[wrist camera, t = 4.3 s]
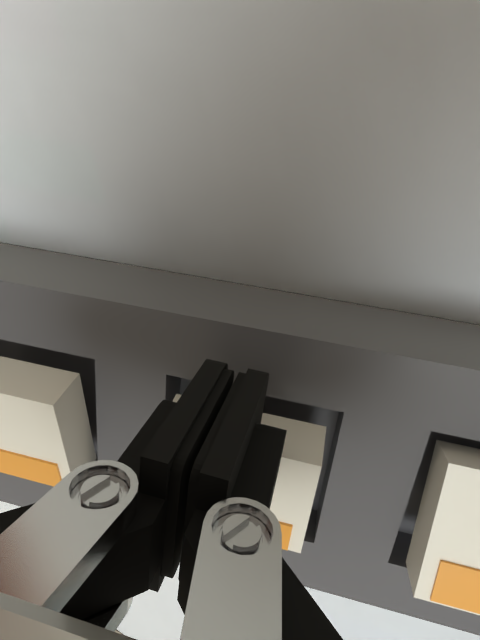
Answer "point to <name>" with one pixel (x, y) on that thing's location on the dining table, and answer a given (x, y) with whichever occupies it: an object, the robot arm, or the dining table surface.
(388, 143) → the dining table surface
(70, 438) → the rocker
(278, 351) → the switch strip
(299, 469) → the rocker middle
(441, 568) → the rocker
